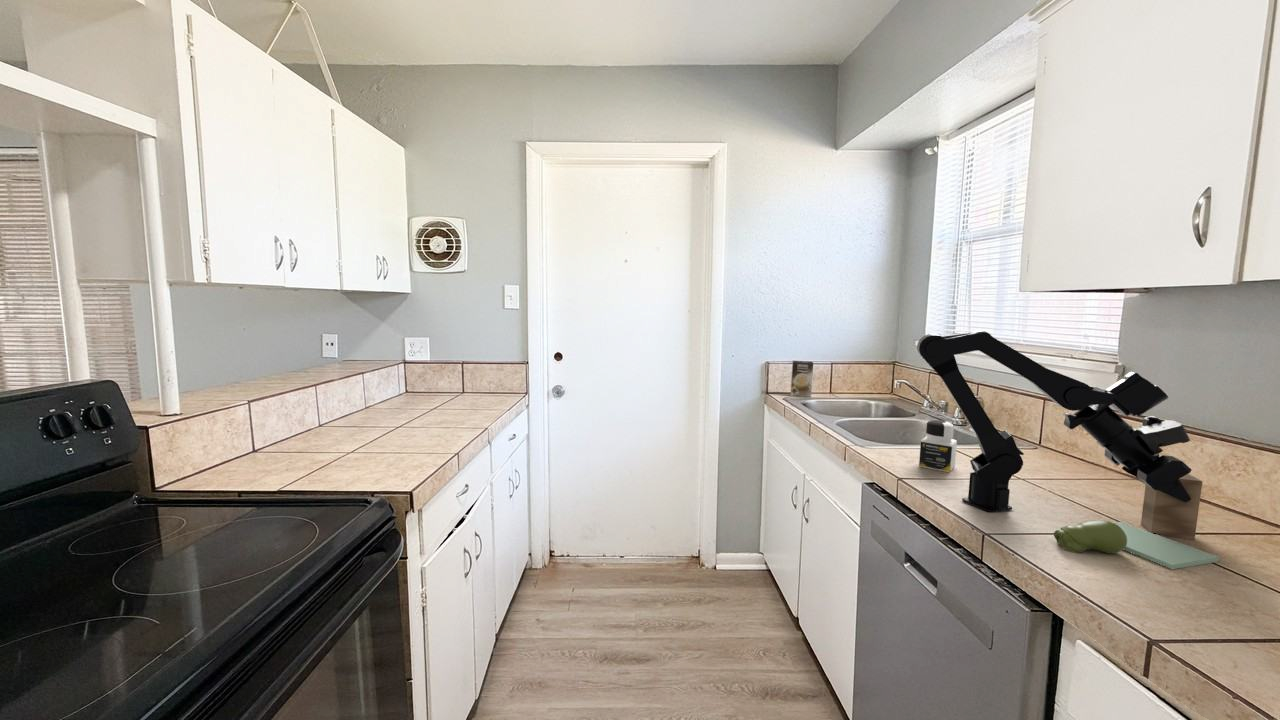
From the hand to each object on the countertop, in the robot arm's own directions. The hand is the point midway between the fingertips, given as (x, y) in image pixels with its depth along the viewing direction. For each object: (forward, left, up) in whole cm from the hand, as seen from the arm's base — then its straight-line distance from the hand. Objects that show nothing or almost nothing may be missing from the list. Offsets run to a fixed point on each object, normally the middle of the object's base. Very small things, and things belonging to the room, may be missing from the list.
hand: (1181, 496), depth 94 cm
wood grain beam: (-1, -1, -7) cm, 7 cm away
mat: (+2, -12, -7) cm, 14 cm away
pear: (+1, -23, -7) cm, 24 cm away
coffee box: (-142, +10, -7) cm, 143 cm away
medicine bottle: (-43, -12, -7) cm, 45 cm away
